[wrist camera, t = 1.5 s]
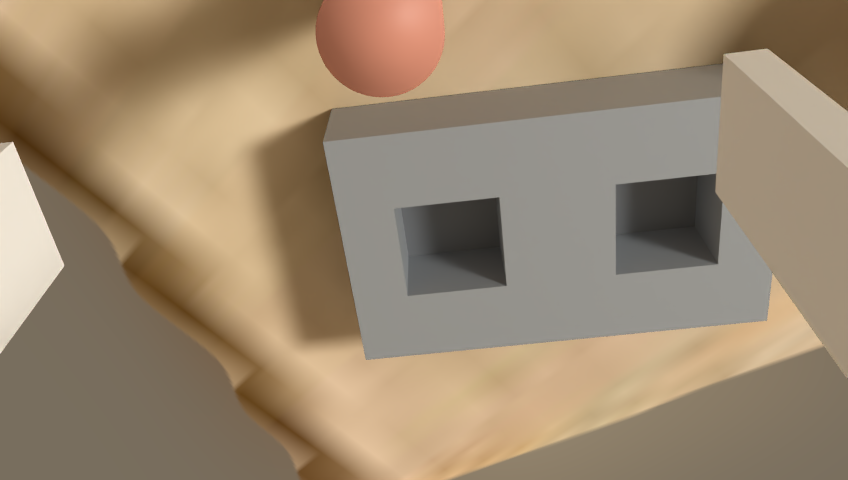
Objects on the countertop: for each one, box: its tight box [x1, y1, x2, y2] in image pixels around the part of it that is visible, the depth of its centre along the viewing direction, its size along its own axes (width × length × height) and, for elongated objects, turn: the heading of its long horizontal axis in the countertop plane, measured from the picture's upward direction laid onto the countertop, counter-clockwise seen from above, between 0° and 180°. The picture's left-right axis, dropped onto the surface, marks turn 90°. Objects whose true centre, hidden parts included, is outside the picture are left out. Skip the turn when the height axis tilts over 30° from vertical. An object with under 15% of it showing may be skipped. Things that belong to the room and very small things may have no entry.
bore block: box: [323, 64, 772, 360], centre depth 39 cm, size 12×20×4 cm, turn 97°
